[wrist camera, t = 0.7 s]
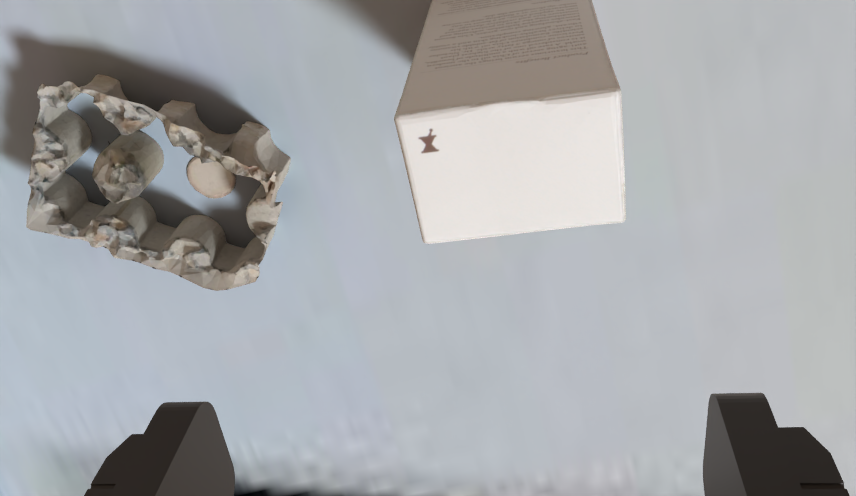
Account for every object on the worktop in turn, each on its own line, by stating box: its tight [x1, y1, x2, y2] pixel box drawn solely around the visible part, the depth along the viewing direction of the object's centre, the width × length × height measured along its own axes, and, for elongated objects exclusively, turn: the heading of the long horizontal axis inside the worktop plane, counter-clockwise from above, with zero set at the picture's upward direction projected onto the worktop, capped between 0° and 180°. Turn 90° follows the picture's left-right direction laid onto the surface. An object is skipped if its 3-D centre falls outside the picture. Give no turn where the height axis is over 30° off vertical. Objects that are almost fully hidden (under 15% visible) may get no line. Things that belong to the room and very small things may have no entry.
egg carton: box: [26, 75, 291, 291], centre depth 35 cm, size 11×8×4 cm
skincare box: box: [394, 0, 626, 244], centre depth 27 cm, size 6×4×12 cm
